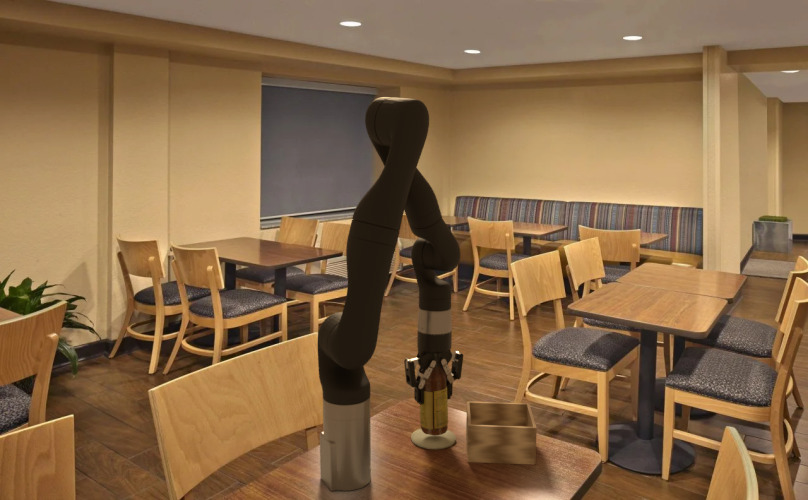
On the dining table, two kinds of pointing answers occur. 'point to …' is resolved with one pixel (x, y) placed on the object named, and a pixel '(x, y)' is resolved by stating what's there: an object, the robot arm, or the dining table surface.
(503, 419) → the caddy
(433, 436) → the saucer
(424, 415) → the sauce bottle
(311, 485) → the dining table surface
